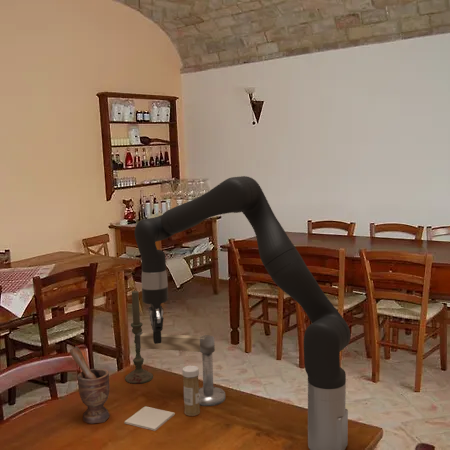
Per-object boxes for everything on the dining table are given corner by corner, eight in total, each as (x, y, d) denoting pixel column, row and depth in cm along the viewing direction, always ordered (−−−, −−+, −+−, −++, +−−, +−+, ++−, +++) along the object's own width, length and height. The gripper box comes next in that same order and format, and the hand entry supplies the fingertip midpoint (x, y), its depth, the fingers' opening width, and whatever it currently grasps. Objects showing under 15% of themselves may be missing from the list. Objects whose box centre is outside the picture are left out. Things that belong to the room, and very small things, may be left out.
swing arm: (216, 348, 172) (215, 335, 171) (212, 354, 168) (212, 340, 167) (141, 344, 177) (140, 331, 177) (135, 349, 173) (135, 336, 172)
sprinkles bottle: (203, 413, 163) (201, 368, 161) (189, 418, 161) (187, 372, 159) (194, 407, 167) (193, 363, 165) (181, 412, 164) (179, 367, 162)
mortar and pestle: (65, 423, 159) (60, 355, 156) (77, 409, 168) (73, 343, 165) (104, 426, 157) (100, 356, 154) (115, 411, 166) (111, 345, 163)
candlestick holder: (120, 382, 186) (115, 292, 181) (132, 371, 194) (128, 285, 190) (146, 385, 183) (141, 293, 179) (157, 374, 192) (153, 286, 187)
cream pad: (174, 414, 163) (174, 412, 163) (155, 430, 154) (154, 428, 154) (145, 408, 167) (145, 406, 167) (124, 423, 159) (124, 421, 158)
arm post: (230, 394, 175) (229, 349, 173) (215, 408, 166) (214, 360, 164) (202, 389, 179) (200, 344, 177) (185, 402, 170) (184, 355, 168)
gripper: (171, 289, 163) (173, 348, 165) (164, 279, 175) (166, 334, 178) (144, 292, 161) (147, 351, 163) (139, 281, 174) (142, 337, 176)
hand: (157, 342), depth 170 cm, fingers closed
